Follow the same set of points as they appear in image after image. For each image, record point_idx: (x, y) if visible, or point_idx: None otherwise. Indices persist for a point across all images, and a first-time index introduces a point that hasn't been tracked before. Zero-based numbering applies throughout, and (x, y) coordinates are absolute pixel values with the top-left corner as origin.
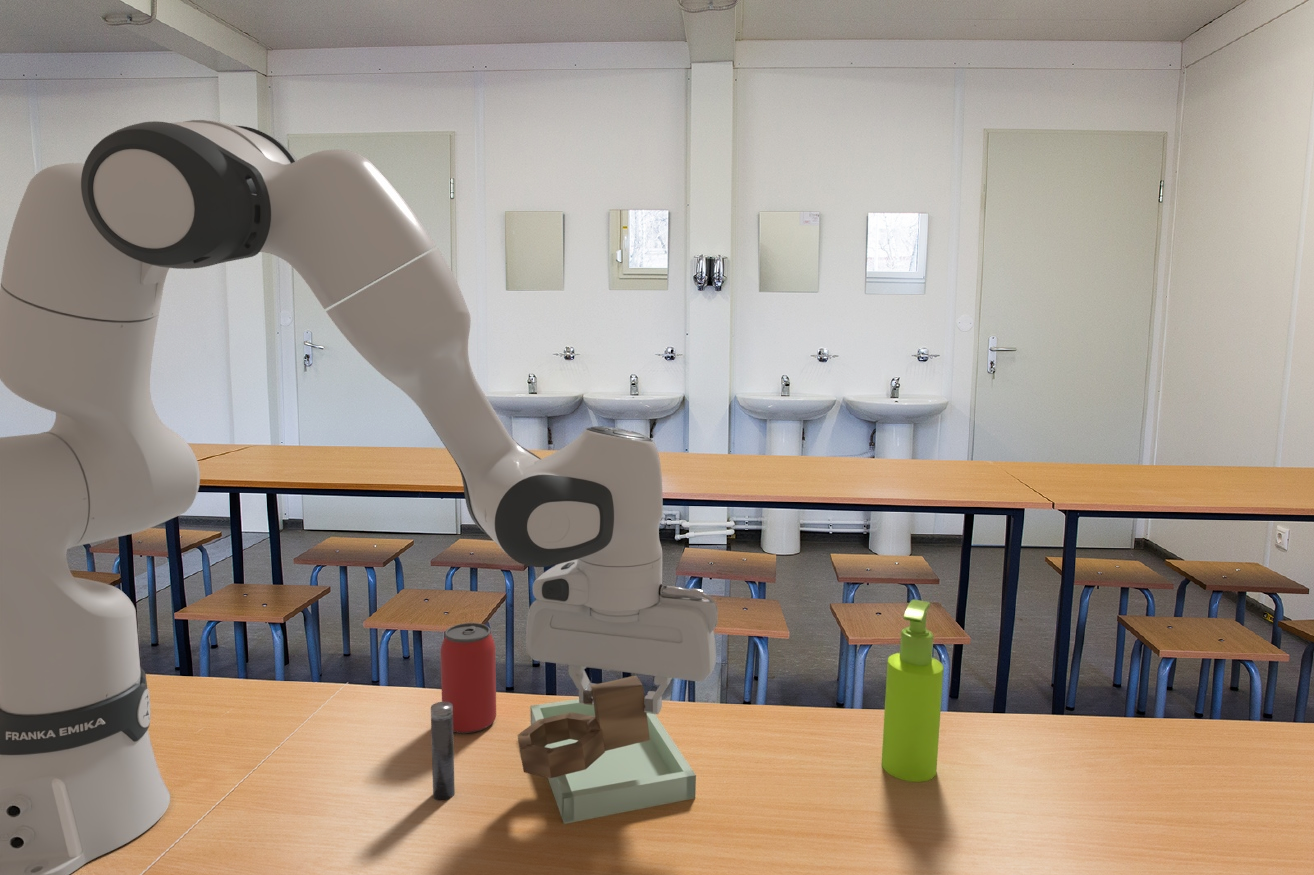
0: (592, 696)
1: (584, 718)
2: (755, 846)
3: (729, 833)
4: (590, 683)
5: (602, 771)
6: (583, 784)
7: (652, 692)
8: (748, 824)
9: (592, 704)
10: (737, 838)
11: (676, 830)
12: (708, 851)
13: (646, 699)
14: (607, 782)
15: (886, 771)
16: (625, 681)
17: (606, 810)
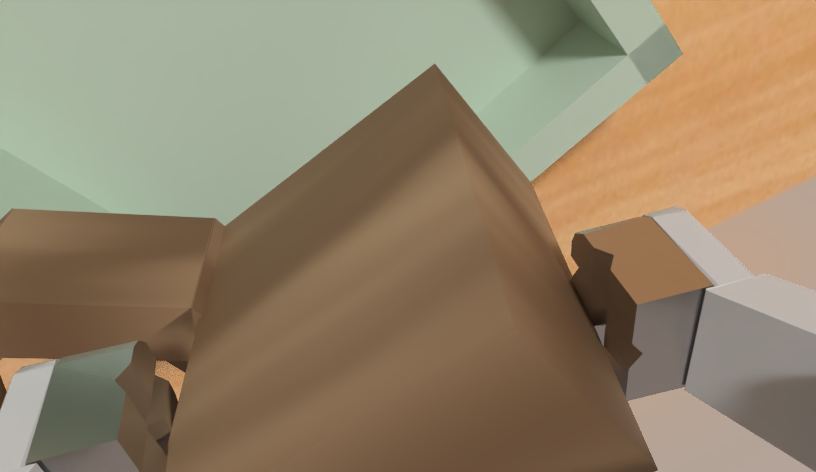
0: (151, 433)
1: (129, 339)
2: (807, 122)
3: (737, 107)
4: (49, 464)
5: (190, 44)
6: (185, 164)
7: (673, 310)
8: (798, 37)
9: (176, 405)
10: (760, 116)
11: (582, 173)
12: (681, 202)
13: (640, 393)
14: (265, 107)
15: None
16: (451, 451)
17: None
